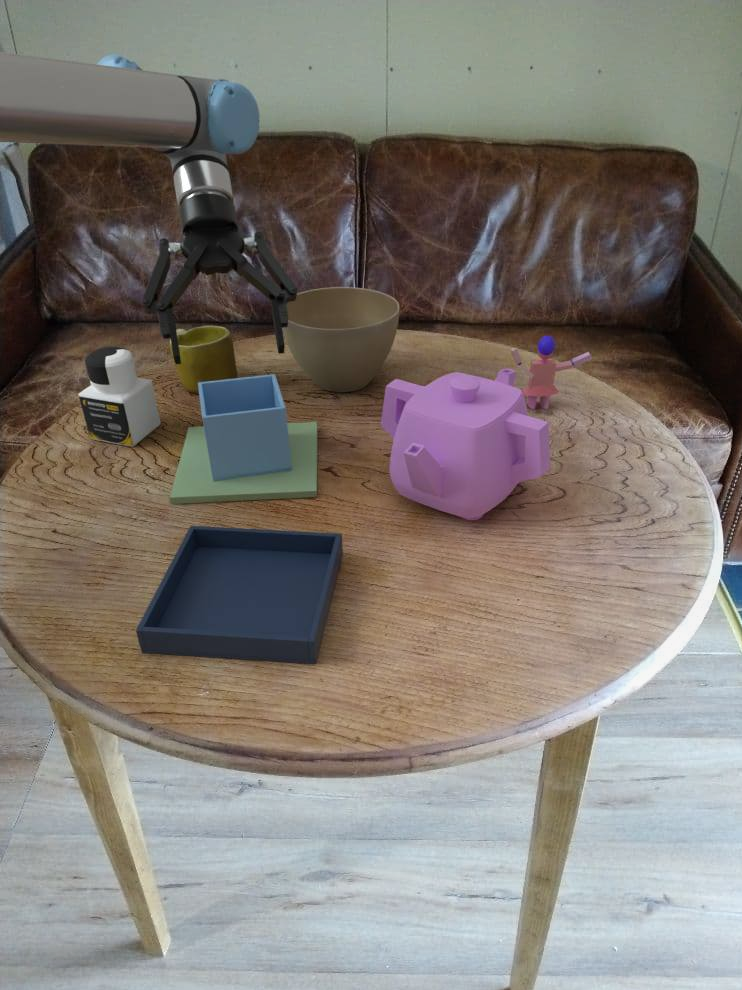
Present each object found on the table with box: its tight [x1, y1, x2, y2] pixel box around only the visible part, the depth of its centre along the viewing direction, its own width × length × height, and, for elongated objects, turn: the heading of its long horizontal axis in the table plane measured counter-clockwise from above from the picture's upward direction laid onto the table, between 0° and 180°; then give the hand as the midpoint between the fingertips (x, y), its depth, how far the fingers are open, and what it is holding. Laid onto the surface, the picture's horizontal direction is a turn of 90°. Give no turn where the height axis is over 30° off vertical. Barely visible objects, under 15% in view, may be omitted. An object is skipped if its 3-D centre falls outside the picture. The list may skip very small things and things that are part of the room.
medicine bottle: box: [78, 346, 161, 448], centre depth 109 cm, size 7×7×12 cm
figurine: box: [509, 335, 592, 410], centre depth 116 cm, size 3×12×11 cm, turn 100°
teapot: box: [380, 367, 551, 521], centre depth 96 cm, size 19×18×15 cm
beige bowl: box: [282, 286, 401, 393], centre depth 122 cm, size 18×18×12 cm
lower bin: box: [135, 525, 344, 665], centre depth 83 cm, size 17×17×3 cm
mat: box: [169, 421, 318, 505], centre depth 106 cm, size 18×18×1 cm
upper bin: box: [198, 373, 292, 481], centre depth 103 cm, size 10×10×9 cm
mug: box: [168, 325, 239, 395], centre depth 124 cm, size 12×10×10 cm
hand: (230, 355), depth 105 cm, fingers open, 13 cm apart
